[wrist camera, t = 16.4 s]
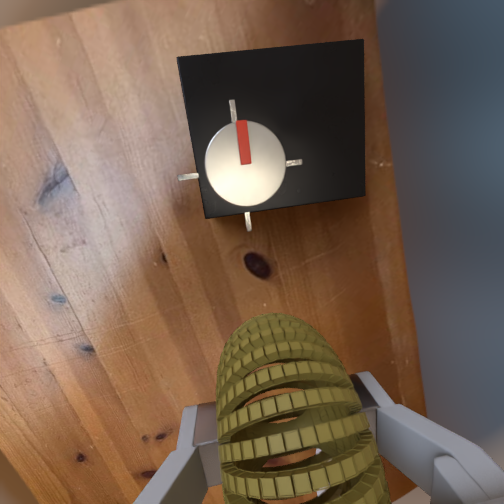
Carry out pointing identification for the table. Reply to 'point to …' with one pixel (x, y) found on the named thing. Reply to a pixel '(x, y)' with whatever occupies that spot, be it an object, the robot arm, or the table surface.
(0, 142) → the table surface
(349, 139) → the panel
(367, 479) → the sculpture
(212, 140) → the dial
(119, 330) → the table surface
